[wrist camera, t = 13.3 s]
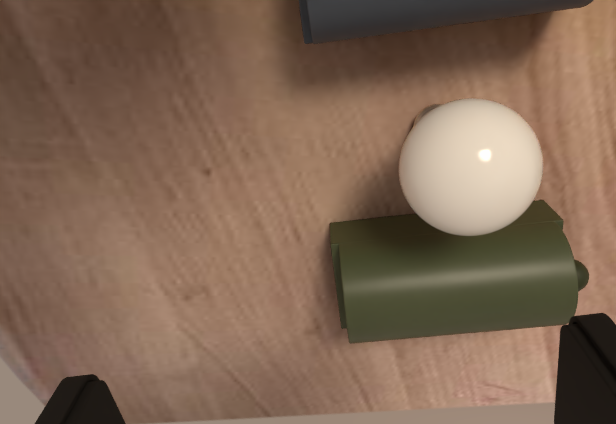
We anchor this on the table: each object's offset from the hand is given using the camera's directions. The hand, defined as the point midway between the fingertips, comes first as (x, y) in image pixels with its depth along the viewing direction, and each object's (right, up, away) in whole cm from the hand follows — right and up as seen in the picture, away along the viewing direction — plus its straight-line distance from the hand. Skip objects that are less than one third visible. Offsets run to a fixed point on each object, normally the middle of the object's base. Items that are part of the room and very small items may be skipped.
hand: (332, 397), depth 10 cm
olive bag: (+8, +1, +24) cm, 25 cm away
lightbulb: (+7, +9, +20) cm, 23 cm away
